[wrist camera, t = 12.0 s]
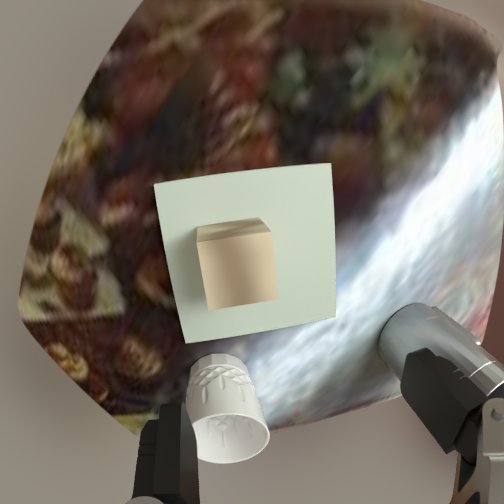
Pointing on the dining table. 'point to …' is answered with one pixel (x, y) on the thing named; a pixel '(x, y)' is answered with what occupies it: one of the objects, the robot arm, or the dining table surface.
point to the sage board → (284, 243)
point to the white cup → (225, 410)
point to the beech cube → (237, 263)
